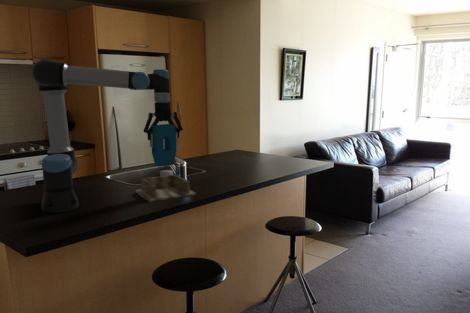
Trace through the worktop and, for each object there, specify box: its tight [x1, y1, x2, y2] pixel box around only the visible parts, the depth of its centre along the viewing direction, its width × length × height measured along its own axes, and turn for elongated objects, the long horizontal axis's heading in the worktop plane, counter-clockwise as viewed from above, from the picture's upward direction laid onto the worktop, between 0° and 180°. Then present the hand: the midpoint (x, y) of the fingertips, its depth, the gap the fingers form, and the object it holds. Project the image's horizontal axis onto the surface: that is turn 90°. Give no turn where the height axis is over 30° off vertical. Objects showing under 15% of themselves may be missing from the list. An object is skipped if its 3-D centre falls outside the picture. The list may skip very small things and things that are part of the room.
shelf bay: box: [135, 174, 197, 203], centre depth 201 cm, size 24×22×7 cm
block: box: [150, 123, 177, 168], centre depth 197 cm, size 12×5×20 cm, turn 133°
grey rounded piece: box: [159, 169, 174, 177], centre depth 218 cm, size 7×7×8 cm
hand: (164, 146), depth 197 cm, fingers closed on block, 12 cm apart
